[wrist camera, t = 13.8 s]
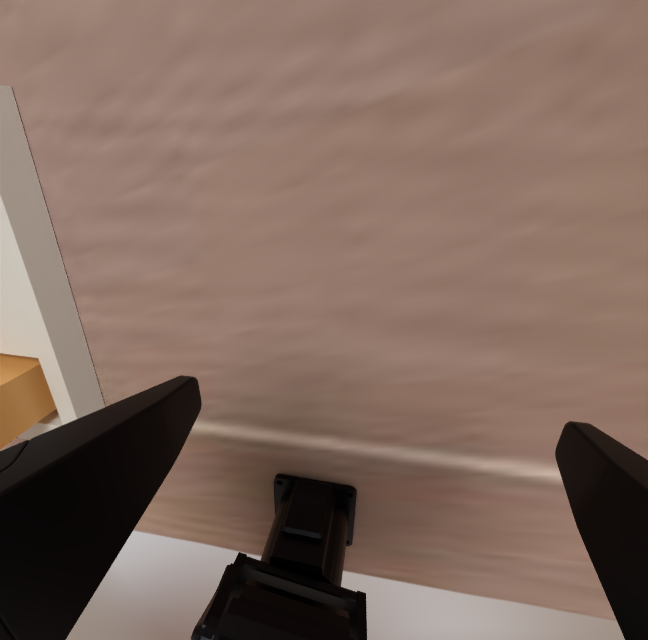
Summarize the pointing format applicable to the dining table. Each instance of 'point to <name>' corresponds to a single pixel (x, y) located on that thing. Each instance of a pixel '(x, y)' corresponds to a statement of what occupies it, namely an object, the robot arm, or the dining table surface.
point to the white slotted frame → (38, 284)
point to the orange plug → (22, 396)
